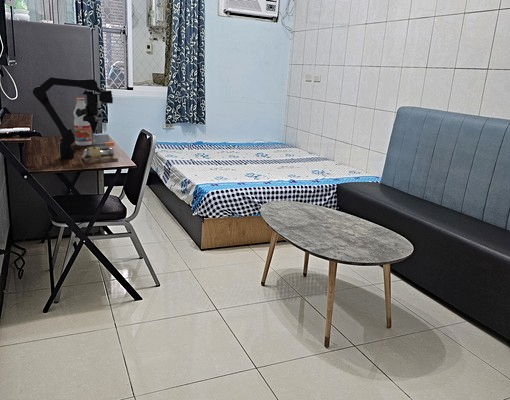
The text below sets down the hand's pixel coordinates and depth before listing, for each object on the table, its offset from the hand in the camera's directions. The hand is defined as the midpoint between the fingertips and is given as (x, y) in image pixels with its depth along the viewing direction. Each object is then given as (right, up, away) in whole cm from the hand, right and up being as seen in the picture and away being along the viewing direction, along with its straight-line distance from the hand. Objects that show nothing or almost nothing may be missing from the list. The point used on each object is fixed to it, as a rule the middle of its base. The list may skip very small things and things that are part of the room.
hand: (94, 132), depth 237 cm
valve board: (+5, -15, -4) cm, 16 cm away
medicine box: (-5, -6, +25) cm, 26 cm away
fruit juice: (-19, -2, +35) cm, 40 cm away
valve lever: (+6, -8, -4) cm, 10 cm away
